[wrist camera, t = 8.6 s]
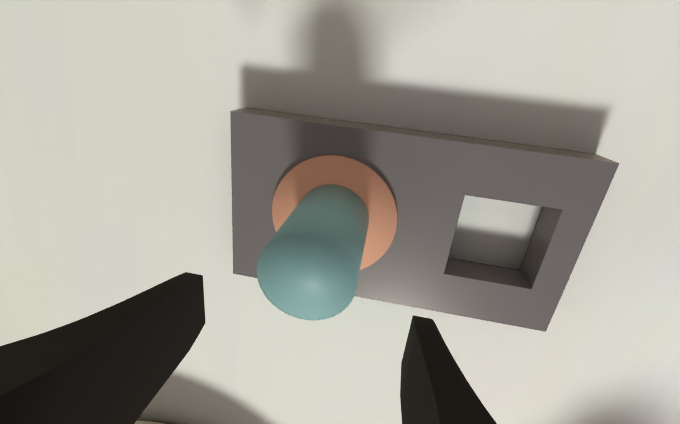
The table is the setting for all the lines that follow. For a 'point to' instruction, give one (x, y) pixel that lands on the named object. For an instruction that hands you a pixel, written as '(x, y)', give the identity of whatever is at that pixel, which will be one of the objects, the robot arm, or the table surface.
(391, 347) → the table surface
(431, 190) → the board with square hole
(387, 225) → the orange disc
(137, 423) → the bowl
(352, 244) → the plug
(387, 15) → the table surface
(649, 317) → the table surface
